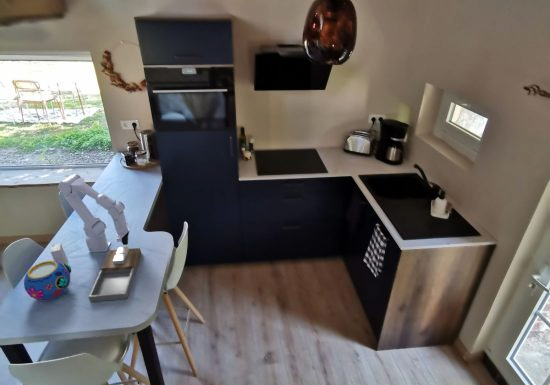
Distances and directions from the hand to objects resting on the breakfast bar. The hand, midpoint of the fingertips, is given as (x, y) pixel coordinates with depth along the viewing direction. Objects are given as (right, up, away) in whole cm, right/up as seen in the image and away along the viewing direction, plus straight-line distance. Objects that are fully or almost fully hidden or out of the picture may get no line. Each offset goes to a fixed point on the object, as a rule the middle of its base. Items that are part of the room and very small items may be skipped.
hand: (125, 244), depth 181 cm
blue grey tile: (+2, -7, -10) cm, 12 cm away
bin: (+4, -17, -20) cm, 27 cm away
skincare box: (-29, -10, -8) cm, 32 cm away
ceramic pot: (-23, -19, -24) cm, 39 cm away
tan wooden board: (+1, -9, -6) cm, 11 cm away
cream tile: (+1, -4, -5) cm, 7 cm away
